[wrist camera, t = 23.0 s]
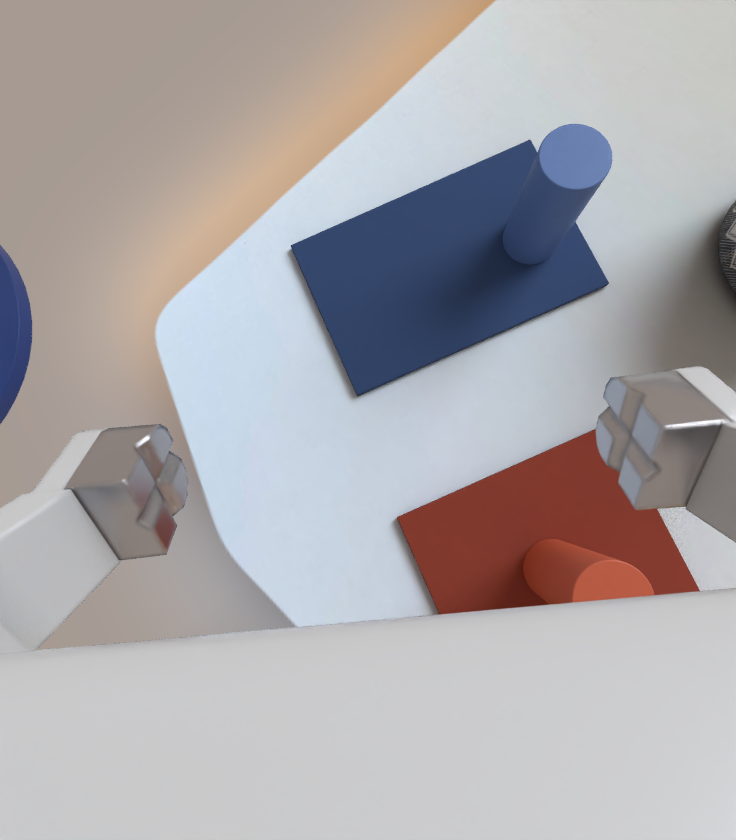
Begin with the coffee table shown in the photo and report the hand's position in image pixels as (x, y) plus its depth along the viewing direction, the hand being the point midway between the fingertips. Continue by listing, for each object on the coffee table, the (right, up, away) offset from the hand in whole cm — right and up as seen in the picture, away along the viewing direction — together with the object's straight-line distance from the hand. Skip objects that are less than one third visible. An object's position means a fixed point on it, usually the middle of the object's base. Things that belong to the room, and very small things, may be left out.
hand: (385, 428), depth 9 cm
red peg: (+13, -11, +26) cm, 32 cm away
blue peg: (+13, +15, +30) cm, 36 cm away
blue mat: (+6, +13, +30) cm, 34 cm away
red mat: (+13, -11, +27) cm, 32 cm away
